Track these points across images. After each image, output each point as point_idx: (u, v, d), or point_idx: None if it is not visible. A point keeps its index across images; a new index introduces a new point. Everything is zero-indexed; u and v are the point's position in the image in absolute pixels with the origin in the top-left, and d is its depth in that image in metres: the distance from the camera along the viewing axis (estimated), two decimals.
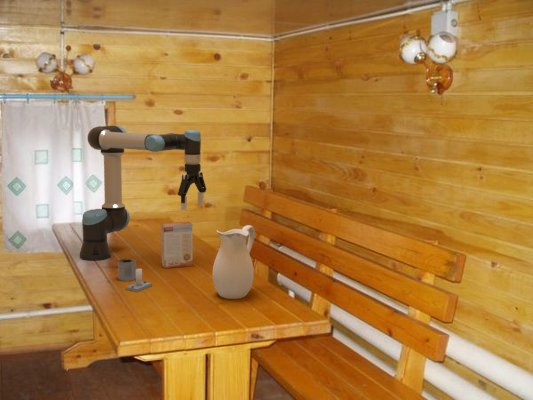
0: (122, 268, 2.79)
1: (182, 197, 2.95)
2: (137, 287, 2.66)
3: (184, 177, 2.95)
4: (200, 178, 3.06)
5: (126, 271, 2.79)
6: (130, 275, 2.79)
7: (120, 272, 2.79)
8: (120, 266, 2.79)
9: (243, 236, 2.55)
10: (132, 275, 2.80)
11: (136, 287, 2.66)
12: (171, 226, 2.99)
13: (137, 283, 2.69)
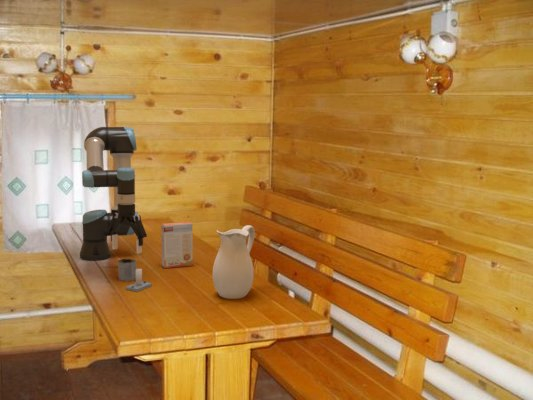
0: (122, 268, 2.79)
1: None
2: (137, 287, 2.66)
3: None
4: None
5: (126, 271, 2.79)
6: (130, 275, 2.79)
7: (120, 272, 2.79)
8: (120, 266, 2.79)
9: (243, 236, 2.55)
10: (132, 275, 2.80)
11: (136, 287, 2.66)
12: (171, 226, 2.99)
13: (137, 283, 2.69)
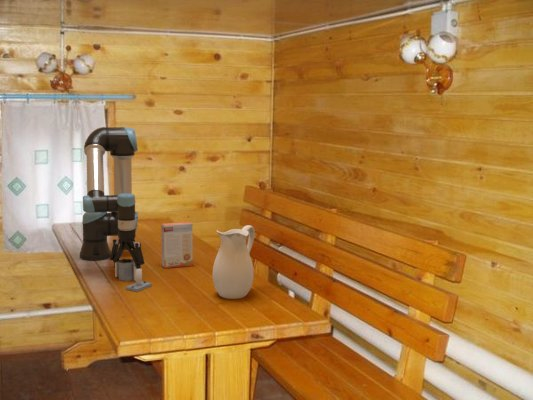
0: (122, 268, 2.79)
1: None
2: (137, 287, 2.66)
3: None
4: None
5: (126, 271, 2.79)
6: (130, 275, 2.79)
7: (120, 272, 2.79)
8: (120, 266, 2.79)
9: (243, 236, 2.55)
10: (132, 275, 2.80)
11: (136, 287, 2.66)
12: (171, 226, 2.99)
13: (137, 283, 2.69)
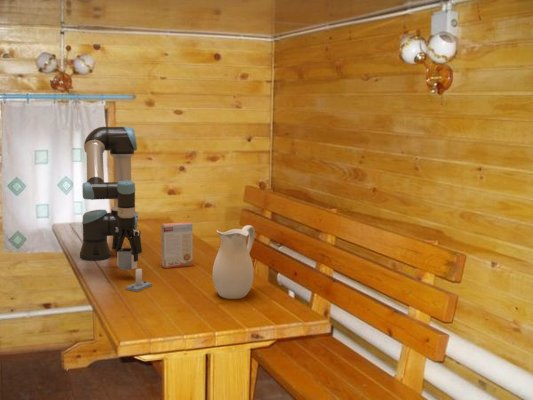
0: (122, 257, 2.79)
1: None
2: (137, 287, 2.66)
3: None
4: None
5: (126, 260, 2.79)
6: (130, 264, 2.79)
7: (120, 261, 2.79)
8: (120, 255, 2.79)
9: (243, 236, 2.55)
10: None
11: (136, 287, 2.66)
12: (171, 226, 2.99)
13: (137, 283, 2.69)
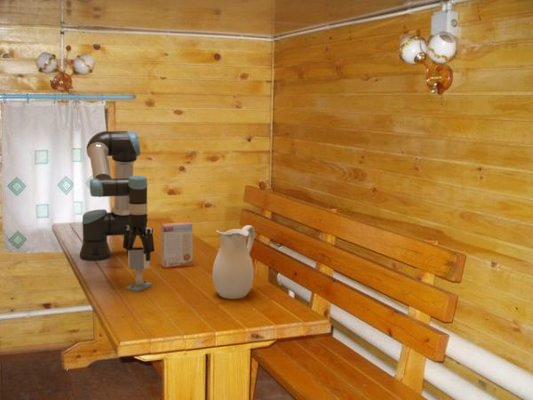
0: (133, 256, 2.64)
1: None
2: (137, 287, 2.66)
3: None
4: None
5: (138, 259, 2.64)
6: (142, 263, 2.65)
7: (132, 260, 2.65)
8: (131, 254, 2.65)
9: (243, 236, 2.55)
10: None
11: (136, 287, 2.66)
12: (171, 226, 2.99)
13: (137, 283, 2.69)
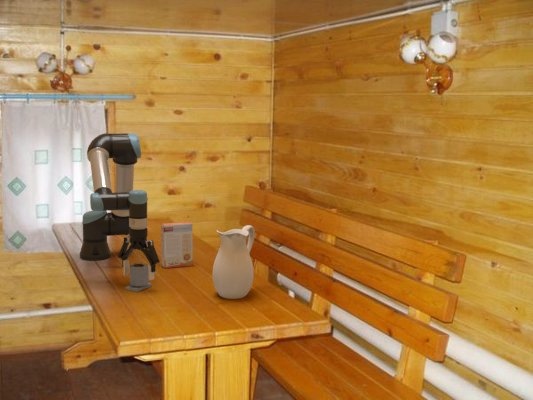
0: (134, 273, 2.66)
1: None
2: (137, 287, 2.66)
3: None
4: None
5: (138, 276, 2.66)
6: (142, 280, 2.66)
7: (132, 277, 2.66)
8: (132, 271, 2.66)
9: (243, 236, 2.55)
10: (144, 280, 2.67)
11: (136, 287, 2.66)
12: (171, 226, 2.99)
13: None
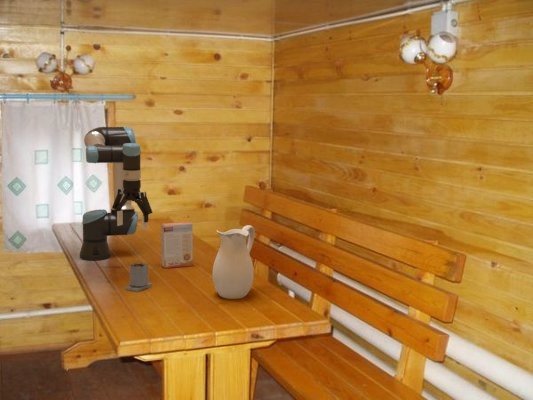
0: (134, 273, 2.66)
1: None
2: (137, 287, 2.66)
3: None
4: None
5: (138, 276, 2.66)
6: (142, 280, 2.66)
7: (132, 277, 2.66)
8: (132, 271, 2.66)
9: (243, 236, 2.55)
10: (144, 280, 2.67)
11: (136, 287, 2.66)
12: (171, 226, 2.99)
13: None
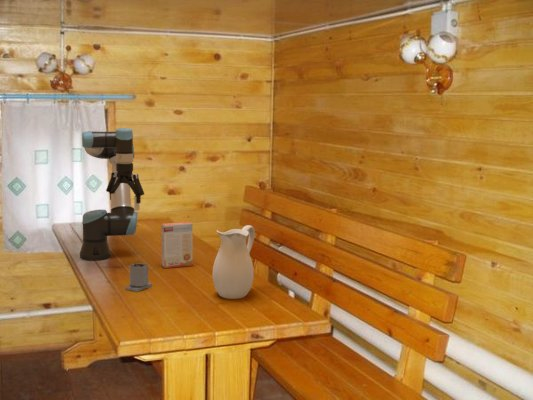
0: (134, 273, 2.66)
1: None
2: (137, 287, 2.66)
3: None
4: None
5: (138, 276, 2.66)
6: (142, 280, 2.66)
7: (132, 277, 2.66)
8: (132, 271, 2.66)
9: (243, 236, 2.55)
10: (144, 280, 2.67)
11: (136, 287, 2.66)
12: (171, 226, 2.99)
13: None
